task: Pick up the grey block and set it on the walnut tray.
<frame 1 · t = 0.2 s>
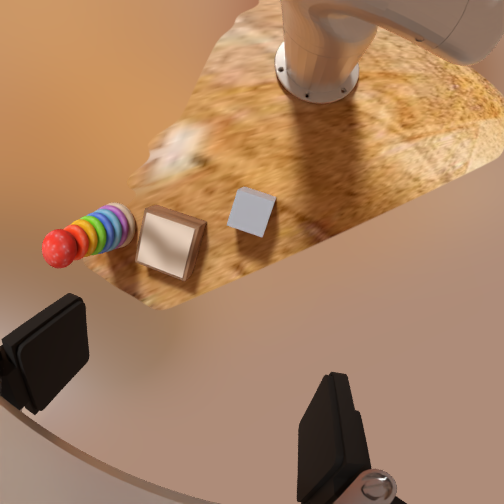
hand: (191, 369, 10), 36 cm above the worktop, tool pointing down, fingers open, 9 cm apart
stacking toy: (119, 224, 48), on the worktop
grey block: (255, 207, 44), on the worktop
walnut tray: (174, 238, 47), on the worktop
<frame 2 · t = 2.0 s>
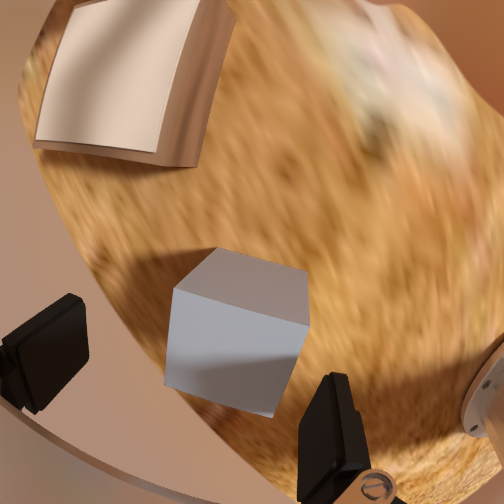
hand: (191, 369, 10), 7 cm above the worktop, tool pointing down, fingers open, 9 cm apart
grey block: (251, 300, 16), on the worktop
walnut tray: (144, 82, 14), on the worktop
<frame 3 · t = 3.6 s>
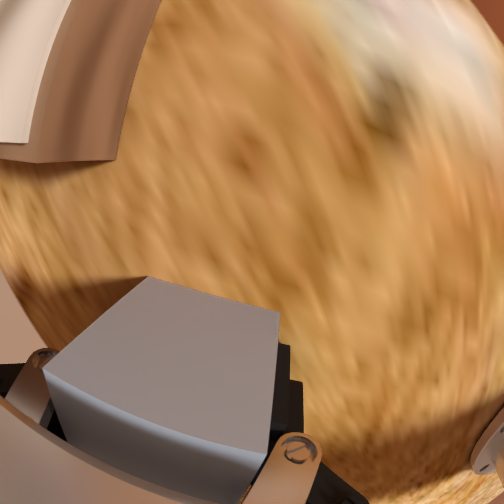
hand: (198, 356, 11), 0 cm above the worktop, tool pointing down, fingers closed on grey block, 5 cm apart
grey block: (201, 349, 11), on the worktop, touching gripper
walnut tray: (62, 54, 8), on the worktop
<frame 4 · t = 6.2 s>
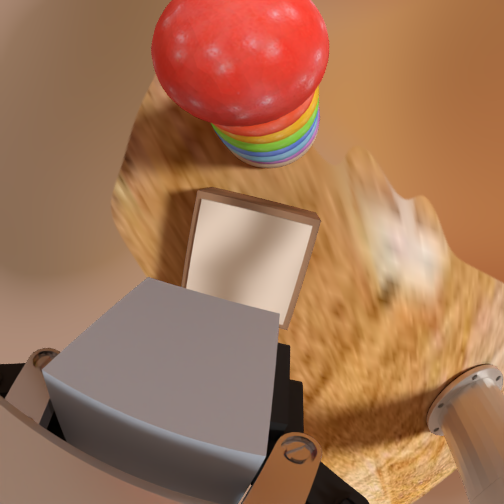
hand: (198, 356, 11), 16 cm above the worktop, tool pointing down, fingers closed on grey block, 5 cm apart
stacking toy: (269, 121, 22), on the worktop
grey block: (201, 350, 11), point 15 cm above the worktop, touching gripper
walnut tray: (251, 249, 25), on the worktop
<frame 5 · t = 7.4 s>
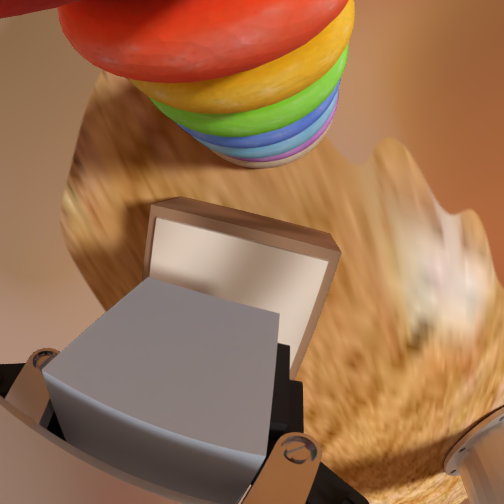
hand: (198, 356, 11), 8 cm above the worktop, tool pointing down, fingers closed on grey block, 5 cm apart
stacking toy: (263, 101, 15), on the worktop
grey block: (201, 350, 11), point 7 cm above the worktop, touching gripper
walnut tray: (237, 284, 18), on the worktop
when the fingers open (6 cm above the worktop, at t = 8.6 s): grey block drops 1 cm, resting on walnut tray.
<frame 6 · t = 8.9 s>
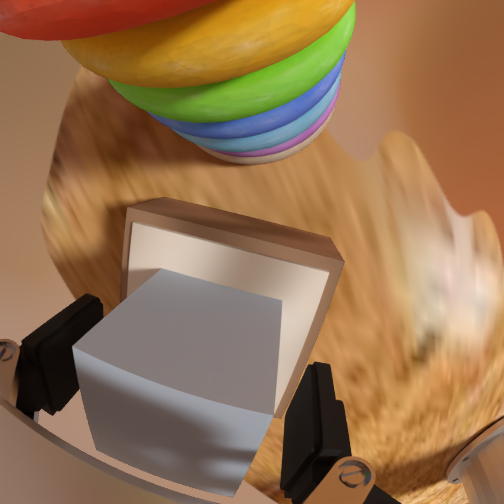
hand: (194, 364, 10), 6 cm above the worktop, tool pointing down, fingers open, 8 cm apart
stacking toy: (255, 90, 13), on the worktop
grey block: (210, 335, 12), point 4 cm above the worktop, touching walnut tray
walnut tray: (227, 294, 16), on the worktop
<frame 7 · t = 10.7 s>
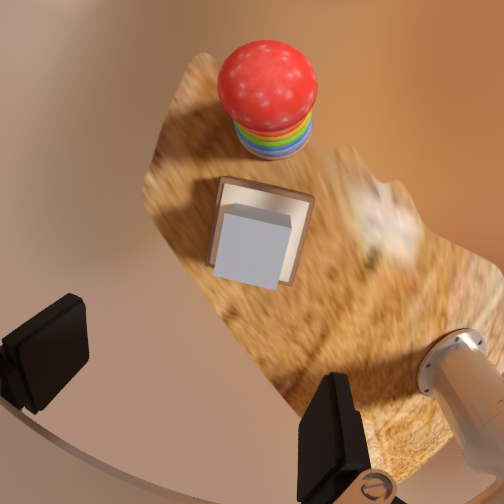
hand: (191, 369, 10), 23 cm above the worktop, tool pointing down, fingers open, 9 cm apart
stacking toy: (274, 124, 29), on the worktop
grey block: (258, 234, 28), point 4 cm above the worktop, touching walnut tray
walnut tray: (261, 225, 32), on the worktop
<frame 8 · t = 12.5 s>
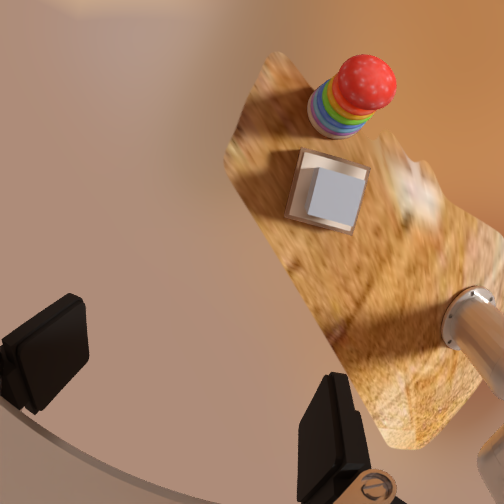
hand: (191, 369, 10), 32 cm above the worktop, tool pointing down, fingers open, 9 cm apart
stacking toy: (335, 112, 35), on the worktop
grey block: (329, 192, 34), point 4 cm above the worktop, touching walnut tray
walnut tray: (324, 189, 38), on the worktop
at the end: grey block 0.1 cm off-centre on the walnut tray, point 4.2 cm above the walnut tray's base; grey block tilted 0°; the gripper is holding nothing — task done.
